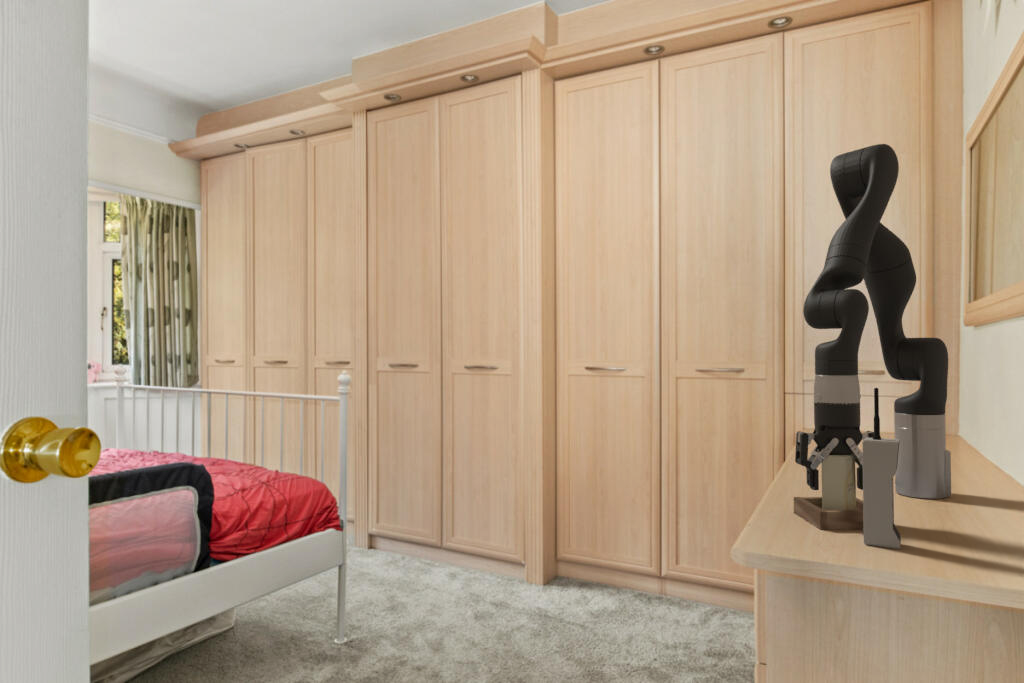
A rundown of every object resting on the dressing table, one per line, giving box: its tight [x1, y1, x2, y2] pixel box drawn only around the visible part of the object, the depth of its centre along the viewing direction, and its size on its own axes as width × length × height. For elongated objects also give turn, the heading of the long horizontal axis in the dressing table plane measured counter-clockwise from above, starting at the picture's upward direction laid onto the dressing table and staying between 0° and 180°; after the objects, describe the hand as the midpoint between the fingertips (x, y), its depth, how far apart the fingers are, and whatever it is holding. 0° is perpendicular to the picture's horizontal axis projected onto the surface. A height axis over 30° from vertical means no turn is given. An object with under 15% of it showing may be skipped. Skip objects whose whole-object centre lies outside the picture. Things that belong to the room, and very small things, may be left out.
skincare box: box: [820, 454, 857, 510], centre depth 118 cm, size 6×4×12 cm
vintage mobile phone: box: [861, 387, 902, 550], centre depth 104 cm, size 4×5×25 cm
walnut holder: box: [793, 496, 864, 531], centre depth 118 cm, size 11×11×3 cm
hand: (837, 489), depth 118 cm, fingers open, 8 cm apart
